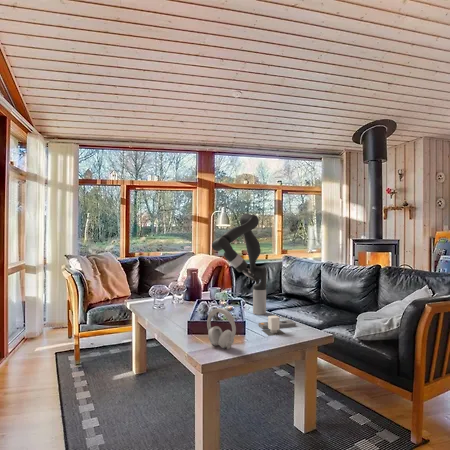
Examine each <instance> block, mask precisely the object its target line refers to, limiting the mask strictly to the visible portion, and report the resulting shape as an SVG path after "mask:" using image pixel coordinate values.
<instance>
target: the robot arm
mask: <svg viewBox="0 0 450 450" xmlns="http://www.w3.org/2000/svg"><path fill="white" fill-rule="evenodd" d="M239 220H240V221H239V223H240V225H237V226H235V227H232V228H230V229H228V230H227V231H225V232H224V234H222V235H221V236H219V237H217V238H216V239H214V240H213V242H212V243H211V247H212V250H214V251H215V252H220V251H222V250H223V252H224V253H223V256H224V258H225V260H227V261H228V262H229V263H230V265H231V266H232V267H233V268H234V269H235V270H236V271H237V272H238V273H242V274H244V275H245V276H246V278H247V277H248V279H249V280H250V281H254V282H255V283H254V284H253V286H252V291H253V292H252V314H254V315H258V316H259V315H266V313H267V280H268V279H267V277H268V270H267V267H266V266H259V265H258V266H257V265H256V263H257V260H258V258H259V256H260V254H261V252H262V251H261V244H260V242H259V240H258V238H257V236H256V235H254V233H253V230H255V229H256V228H257V227H258V225H259V222H260V221H259V220H260V219H259V217H258V216H257V215H255V214H250V213H242V215H241V216H240V218H239ZM241 236H243V237H244V241H245V247H246V251H247V256H248V262H247V261H246V260H245V259H244V258H243V257H242V256H241V255H239V254H238V253H237V252H236V250H235V249H234V248H233V247H232V245H231V243H234V241H236V239H237V240H238V238H240V237H241ZM248 263H249V264H248ZM248 265H249V267H248Z"/></svg>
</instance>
